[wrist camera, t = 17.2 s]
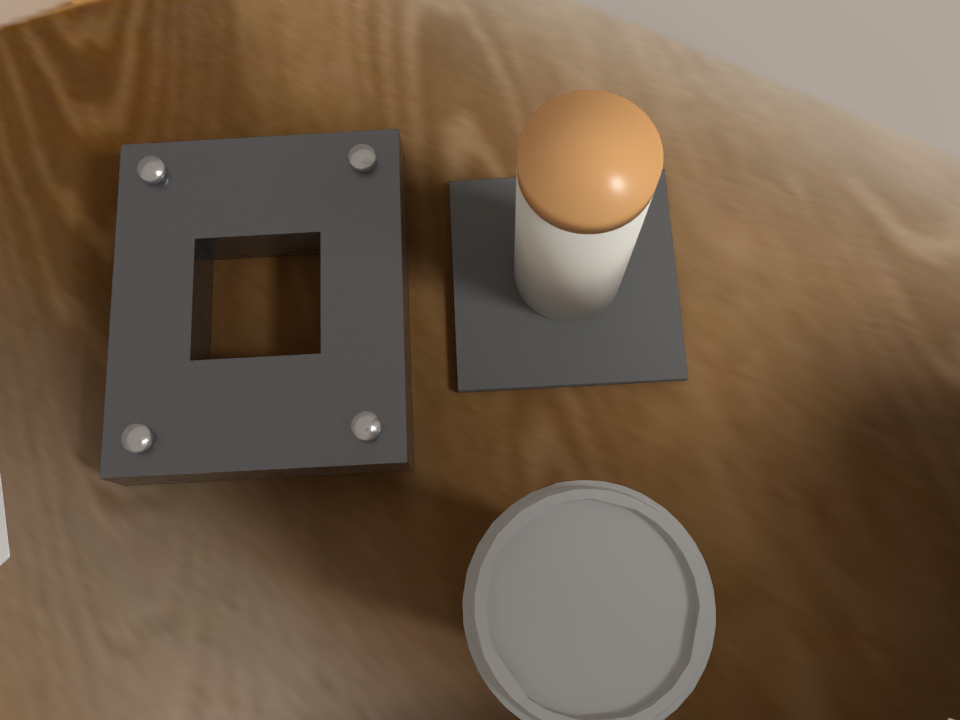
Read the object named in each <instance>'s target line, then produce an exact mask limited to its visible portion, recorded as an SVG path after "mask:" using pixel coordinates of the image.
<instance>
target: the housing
mask: <svg viewBox="0 0 960 720" xmlns="http://www.w3.org/2000/svg"><path fill="white" fill-rule="evenodd" d="M309 254H321V354H303V355H285V356H266V357H248V358H230V359H211V360H210V343H211V312H212V281H213V260H220V259H238V258H255V257H273V256H291V255H309ZM399 471H414V467H413V432H412V398H411V363H410V328H409V293H408V258H407V223H406V189H405V156H404V151H403V147H402V143H401V138H400V134H399V130H398V129H387V130H370V131H353V132H336V133H318V134H301V135H284V136H267V137H250V138H232V139H215V140H198V141H181V142H163V143H146V144H129V145H121V156H120V171H119V187H118V202H117V218H116V234H115V249H114V265H113V280H112V296H111V311H110V327H109V343H108V358H107V374H106V389H105V405H104V420H103V436H102V452H101V467H100V479H104V480H107V481H111V482H114V483H118V484H121V485H125V486H131V485H150V484H169V483H188V482H207V481H226V480H245V479H265V478H284V477H303V476H322V475H341V474H360V473H380V472H399Z"/></svg>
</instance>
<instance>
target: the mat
mask: <svg viewBox="0 0 960 720" xmlns="http://www.w3.org/2000/svg"><path fill="white" fill-rule="evenodd" d="M449 190H450V213H451V236H452V259H453V283H454V306H455V329H456V353H457V376H458V392H459V393H463V392H482V391H501V390H519V389H538V388H557V387H575V386H594V385H613V384H631V383H650V382H669V381H686V380H687V379H688V373H687V364H686V355H685V346H684V338H683V329H682V320H681V311H680V302H679V293H678V285H677V276H676V267H675V258H674V249H673V240H672V232H671V223H670V214H669V205H668V196H667V187H666V179H665V170H664V169H662V172H661V176H660V178H659V181H658V184H657V186H656V189H655V192H654V195H653V197H652V200H651V203H650V205H649V208H648V211H647V213H646V216H645V219H644V222H643V224H642V227H641V230H640V232H639V235H638V238H637V241H636V243H635V246H634V249H633V251H632V254H631V257H630V259H629V262H628V265H627V268H626V270H625V273H624V276H623V278H622V281H621V284H620V286H619V289H618V292H617V294H616V296H615V297H614V299H613V300H612V302H611V303H610V304H609V305H608V306H607V307H606V308H605V309H604V310H603V311H602V312H600V313H599V314H597V315H596V316H594V317H592V318H589V319H587V320H583V321H579V322H558V321H554V320H550V319H548V318H545V317H543V316H541V315H539V314H538V313H536V312H535V311H534V310H532V309H531V308H530V307H529V306H528V305H527V304H526V303H525V301H524V300H523V299H522V297H521V295H520V294H519V291H518V289H517V287H516V283H515V278H514V247H515V209H516V178H499V179H481V180H464V181H449Z"/></svg>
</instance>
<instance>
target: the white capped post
mask: <svg viewBox="0 0 960 720" xmlns="http://www.w3.org/2000/svg"><path fill="white" fill-rule="evenodd" d="M662 167H663V147H662V143H661V139H660V136H659V134H658V131H657V129H656V128H655V126H654V124H653V123H652V121H651V120H650V118H649V117H648V116H647V115H646V114H645V113H644V112H643V111H642V110H641V109H640V108H639V107H637V106H636V105H635V104H633V103H632V102H630V101H629V100H627V99H625V98H623V97H620V96H618V95H615V94H612V93H608V92H604V91H596V90H581V91H574V92H570V93H566V94H563V95H560V96H558V97H555V98H553V99H552V100H550V101H548V102H546V103H545V104H544V105H542V106H541V107H540V108H539V109H538V110H537V111H535V112H534V113H533V115H532V116H531V117H530V118H529V120H528V121H527V123H526V124H525V126H524V128H523V130H522V132H521V135H520V138H519V142H518V148H517V170H516V209H515V247H514V278H515V283H516V287H517V289H518V291H519V294H520V295H521V297H522V299H523V300H524V301H525V303H526V304H527V305H528V306H529V307H530V308H531V309H532V310H534V311H535V312H536V313H538V314H539V315H541V316H543V317H545V318H548V319H550V320H554V321H558V322H579V321H583V320H587V319H589V318H592V317H594V316H596V315H597V314H599V313H600V312H602V311H603V310H604V309H605V308H606V307H607V306H608V305H609V304H610V303H611V302H612V300H613V299H614V297H615V296H616V294H617V292H618V289H619V286H620V284H621V281H622V278H623V276H624V273H625V270H626V268H627V265H628V262H629V259H630V257H631V254H632V251H633V249H634V246H635V243H636V241H637V238H638V235H639V232H640V230H641V227H642V224H643V222H644V219H645V216H646V213H647V211H648V208H649V205H650V203H651V200H652V197H653V195H654V192H655V189H656V186H657V184H658V181H659V178H660V176H661V172H662Z"/></svg>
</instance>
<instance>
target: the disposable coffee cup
mask: <svg viewBox="0 0 960 720" xmlns="http://www.w3.org/2000/svg"><path fill="white" fill-rule="evenodd" d="M462 600H463V625H464V630H465V634H466V639H467V643H468V647H469V651H470V653H471V656H472V658H473V660H474V663H475V665H476V667H477V670H478V672H479V673H480V675H481V677H482V678H483V680H484V681H485V683H486V684H487V686H488V688H489V689H490V690H491V692H492V693H493V694H494V695H495V696H496V697H497V698H498V699H499V701H500V702H501V703H502V704H503V705H504V706H505V707H506V708H507V709H508V710H509V711H511V712H512V713H513V714H514V715H515V716H517V717H518V718H519V719H521V720H664V719H665V718H666V717H668V716H669V715H670V714H671V713H673V712H674V711H675V710H677V709H678V707H679V706H680V705H681V704H682V703H683V702H684V700H685V699H686V698H687V697H688V696H689V695H690V693H691V692H692V691H693V690H694V688H695V686H696V684H697V683H698V681H699V679H700V677H701V675H702V673H703V671H704V669H705V668H706V665H707V662H708V659H709V656H710V653H711V650H712V645H713V639H714V634H715V628H716V606H715V597H714V589H713V585H712V582H711V578H710V575H709V571H708V568H707V566H706V563H705V561H704V558H703V556H702V555H701V553H700V551H699V549H698V547H697V545H696V543H695V542H694V540H693V539H692V537H691V536H690V535H689V534H688V532H687V531H686V530H685V528H684V527H683V526H682V525H681V523H680V522H679V521H678V520H677V519H676V518H675V517H673V516H672V515H671V514H670V513H669V512H668V511H667V510H666V509H665V508H664V507H662V506H661V505H659V504H657V503H656V502H654V501H653V500H651V499H650V498H648V497H647V496H645V495H644V494H642V493H639V492H637V491H634V490H632V489H630V488H627V487H625V486H621V485H617V484H613V483H609V482H605V481H591V480H577V481H569V482H560V483H556V484H553V485H551V486H548V487H545V488H542V489H539V490H536V491H534V492H531V493H529V494H528V495H526V496H525V497H523V498H522V499H520V500H519V501H517V502H515V503H514V504H512V505H511V506H510V507H509V508H507V509H506V510H505V511H504V512H503V513H502V514H501V515H500V516H499V517H498V518H497V519H496V520H495V521H494V522H493V523H492V524H491V526H490V527H489V529H488V530H487V532H486V533H485V535H484V536H483V538H482V539H481V541H480V542H479V544H478V545H477V548H476V550H475V552H474V555H473V557H472V560H471V562H470V565H469V567H468V570H467V575H466V581H465V587H464V593H463V599H462Z"/></svg>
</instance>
